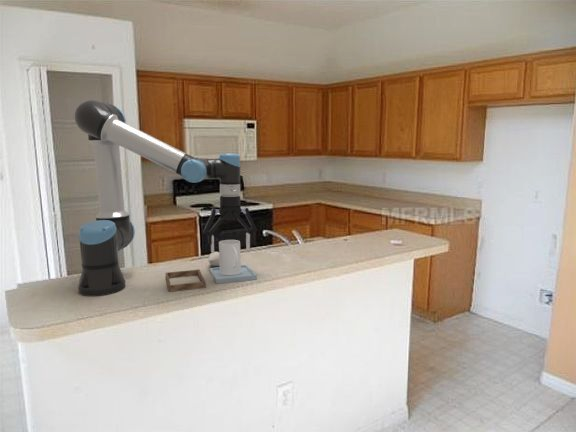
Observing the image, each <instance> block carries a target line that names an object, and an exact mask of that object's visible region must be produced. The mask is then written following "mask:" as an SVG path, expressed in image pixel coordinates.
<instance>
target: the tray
mask: <svg viewBox="0 0 576 432" xmlns="http://www.w3.org/2000/svg"><path fill="white" fill-rule="evenodd" d="M219 271H220V266H217V267H211V268H209V274H210V276H211V277H212V279H213V280H214V282H215V283H216V285H220V284H221V285H222V284H229V283H237V282H246V281H256V280H257V279H258V277H257V276H258V275H257V273H256V272H255V271H254V270H253V269H252V268H251V267H250V266H249V265H248V264H241V271H242V272H241V273H240V274H237V275H230V276H228V275H221V274H220V273H219Z"/></svg>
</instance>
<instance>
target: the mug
mask: <svg viewBox="0 0 576 432" xmlns="http://www.w3.org/2000/svg"><path fill="white" fill-rule="evenodd" d="M218 252H219V261H220V265H219V267H220V271H219V273H220V274H221V275H228V276H230V275H237V274H240V273H241V272H242V271H241V265H242V264H241V263H242V261H241V256H242V255H241V241H240V240H238V239H237V240H236V239H225V240H224V239H223V240H220V241H218Z"/></svg>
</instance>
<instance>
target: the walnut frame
mask: <svg viewBox="0 0 576 432" xmlns="http://www.w3.org/2000/svg"><path fill="white" fill-rule="evenodd" d="M190 275H194V276H197V277H198V279H199V281H197V282H188V283H178V284H177V283H175V284H171V281H170V279H174V277H175V278H182V277H181V276H185V277H191V276H190ZM165 280H166V285H167V289H168V290H167V291H168V293H169V292H176V291H177V292H178V291H186V290H194V289H202V288H206V284H207V283H206V280H205V278H204V276H203V274H202V272H201V270H200V269H199V268H198V269H190V270H180V271H178V270H177V271H172V272H171V271H169V272H165Z"/></svg>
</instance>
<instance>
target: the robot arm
mask: <svg viewBox="0 0 576 432" xmlns="http://www.w3.org/2000/svg"><path fill="white" fill-rule="evenodd" d="M126 120H127V119H126V116H125V114H124V113H123V111H122V110H121V109H120V108H119V107H117V106H115V105H113V104H111V103H109V102H108V103H107V102H104V101H103V102H102V101H98V100H93V99H91V100H85V101H83V102H81V103H79V104H78V105H77V107H76V108H75V112H74V121H75V124H76V127H78V128H79V130H80V131H82V132H83V133H85V134H86V135H87V138H88V142H89V143H90V144H91V145H92V146H93V152H94V153H93V154H94V161H95V163H94V165H95V173H96V183H97V195H98V196H97V197H98V203H99V204H98V206H99V212H98V213H97V214H96V216H95V219H96V220H93V221H88V222H86V223H84V224H82V225H81V226H80V227H79V230H78V240H79V249H80V259H81V260H80V261H81V274H80V277H79V281H78V285H77V288H78V289H77V290H78V294H80V295H83V296H88V297H89V296H92V297H95V296H96V297H97V296H107V295H111V294H113V293H114V294H115V293H117V292H120V291H123V290H124V289H125V288H126V279H125V276H124V275H123V272H122V270H121V268H120V265H119V264H120V263H119V251H121V250H122V249H124V248H127V247H128V246H129V245H130V243H131V242H133V240H134V238H135V232H136V230H135V226H134V223H133V222H132V221H131V219H130V213H129V212H128V211H126V209H125V198H124V188H123V178H122V176H123V175H122V164H121V150H120V147H122V148H124V149H126V150H128V151H130V152H132V153H134V154H136V155H138V156H140V157H142V158H145V159H146V160H148V161H151V162H153V163H154V164H156V165H158V166H161V167H163V168H165V169H166V170H168V171H171V172H173V173H175V174H177V175H178V176H181V177H182V178H183V179H184V180H185V181H186V182H189V183H192V184H193V183H194V184H195V183H200V182H202V181H205V180H219V194H220V196H219V209H217V208H214V207H213V208H211V211H210V216H209V218H208V219H207V222H206V224H205V226H204V228H203V230H202V233H203V234H204V235H206V236H207V243H208V244H209V245H210V252H211V253H214V252H215V236H214V233H215V232H216V230H217V229H218V228H219V226H221V225H222V223H223V222H224V221H226V222H227V221H236V220H237V221H238V222H239V223H240V224H241V225H242V227H244V228H245V230H246V231H247V232H246V233H245V246H246V248H245V250H246V251H248V252H249V251H250V250H251V243H253V234H254V233H256V232H258V228H257V226H256V224H255V223H254V220H253V219H252V217H251V214H250V209H249V208H248V207H244V208H241V196H240V195H241V159H240V158H241V157H240V154H238V153H228V152H227V153H219V157H218V158H202V157H201V158H200V157H199V158H198V157H194V156H192V155H190V154H187V153H186V152H184V151H182V150H180V149H178V148H176V147H174V146H172V145H170V144H168V143H167V142H163V141H162V140H160V139H157V138H156V137H154V136H152V135H150V134H148V133H146V132H145V131H142V130H140V129H138V128H136V127H134V126H132V125H131V124H129V123H127V121H126ZM241 213H242V214H244V215H245V218H246V219H247V221H248V223H249V226H248V224H247V223H246V222H245V221H244V219H243V218H241V216H240V215H241ZM218 214H219V215H220V216H219V217H218V219H217V220H216V221H215V223H214V224H213V222H214V220H215V217H216V216H217V215H218ZM212 224H213V225H212Z"/></svg>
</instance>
